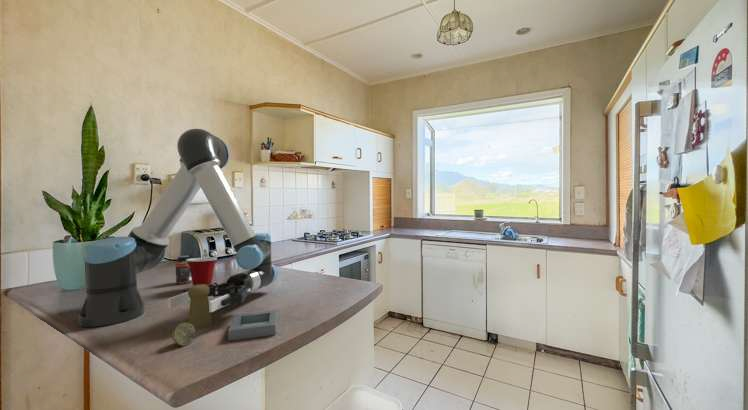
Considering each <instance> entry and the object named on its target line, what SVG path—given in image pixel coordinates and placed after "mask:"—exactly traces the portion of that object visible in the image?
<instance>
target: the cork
mask: <svg viewBox="0 0 748 410" xmlns="http://www.w3.org/2000/svg"><path fill="white" fill-rule="evenodd" d="M188 289H189V290H188V295H189V297H190V298H191V300H190V301H189V311H188V319H187V322H188V323H190V324H192V325H193V326H194V327H195V330H200V329H205V328H207V327H209V326H211V325H212V324H213V319H212V314H211V313H212V312H209V302H210V301H209V296H208V294H209V292H210V289H209V286H208V285H206V284H199V285H194V286H193V285H192V286H190V287H189V288H188Z"/></svg>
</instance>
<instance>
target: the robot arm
mask: <svg viewBox="0 0 748 410" xmlns="http://www.w3.org/2000/svg"><path fill="white" fill-rule="evenodd" d="M176 144H177V145H176V146H177V147H176V148H177V152H178V155H179V156H180V158H179V160H178V161H179V165H180V168H179V169H178V170H177V172H176V174H175V175H174V177H173V178H172V179H171V181H170V182H169V184H168V185H167V187H166V188H165V190H164V191H163V193H162V194H161V195H160V198H158V200H157V201H156V204H155V205H154V206H153V207H152V209H151V211H150V212H149V214H148V215H147V216H146V218H145V220H144V221H143V223H142V224H141V225H139V226H135V227H133V228H132V229H131V231H130V232H129V234H128V235H127V236H113V237H108V238H102V239H97V240H94V241H91V242H89V243H88V244H86V245H85V248H84V255H83V260H84V275H85V276H84V277H85V298H84V301H83V303H82V306H81V309H80V311H79V314H78V318H77V319H78V325H79V326H80V327H84V328H87V327H88V328H90V327H91V328H93V327H103V326H110V325H115V324H118V323H123V322H126V321H129V320H132V319H135V318H137V317H140V316H141V315H143V314H144V313H145V312H146V309H145V306H146V305H145V302H144V300H143V298H142V296H141V294H140V292H139V290H138V284H137V283H138V282H137V281H138V279H137V274H140V273H143V272H146V271H148V270H151V269H153V268H155V267H157V266H158V265H160V263H161V262H163V260H164V259H165V257H166V254H167V249H166V248H168V245H169V244H170V239H169V235H170V234H171V233H172V231H173V229H174V228H175V226H176V225H177V223H178V222H179V221H180V219H181V217H182V216H183V215H184V213H185V211H186V210H187V209H188V207H189V206H190V204H191V202H192V201H193V200H194V198H195V197H196V195H197V193H198V192H199V190H200V189H201V190H202V192H203V194H204V196H205V198H206V199H207V202H208V203H209V205H210V207H211V209H212V211H213V212H214V215H215V217H216V218H217V220H218V221H219V224H220V225H221V227H222V229H223V230H224V233H225V234H226V237H227V238H228V240H229V242H230V244H231V246H232V247H233V249H234V251H235V253H236V254H235V260H236V261H235V262H236V264H237V265H238V267H240V268H241V269H244V271H240V272H239V273H236V274H233V275H231V276H229V277H228V278H227V280H226V282H221V283H219V284H218V282H214V283H211V284H210V285H208V286H209V289H210V292H209V294H208V297H214V299H212V300H210V301H208V302H209V312H210V313H213V312H215V311H218V310H220V309H222V308H224V307H226V306H229V305H230V304H236V302H237V304H242V303H243V302H244V301H245V299H246V297H247V296H248V295H251V293H253V292H255V291H257V290H259V289H260V290H261V289H262V288H264V287H267V286H269V285H271V284H272V283H273V282H275V281H276V280H277V278H278V270H277V267H276V266H275V265H274V264H273V263H272V239H271V237H272V236H271V234H270V233H267V232H263V233H258V232H257V233H255V231H254V229H253V227H252V226H251V224H250V221H249V220H248V218H247V216H246V214H245V212H244V210H243V208H242V207H241V205H240V202H239V201H238V198H237V197H236V195H235V194H234V192H233V190H232V187H231V186H230V183H229V182H228V180H227V179H226V177H225V175H224V173H223V171H222V169H223V168H224V167H225V166H227V164H228V163H229V160H230V158H231V154H230V148H229V147H228V145H227V144H226V142H225V141H223V140H222V139H221V138H220V137H219V136H216V135H214V134H213V133H210V131H208V130H206V129H201V128H191V129H188V130H186V131H184V132H183V133H181V135H180V136H179V138H178V140H177V143H176ZM188 290H189V288H187V289H184V290H183V293H180V294H177V295H174V296H171V297H168V298H167V305H168V307H167V308H168V309H173V308H176V307H179V306H181V305H183V304H186V303H190V300H191V298H190V297H189V295H188Z"/></svg>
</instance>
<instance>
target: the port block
mask: <svg viewBox="0 0 748 410" xmlns="http://www.w3.org/2000/svg"><path fill="white" fill-rule="evenodd" d="M277 325H278V310H277V309H273V310H265V311H256V312H247V313H237V314H234V317H233V320H232V321H231V323H230V325H229V328H228V330H227V336H228V337H227V339H228V340H227V341H228V342H229V341H236V340H237V341H239V340H244V339H245V340H246V339H252V338H253V339H254V338H260V337H267V336H273V335H274V336H276V335H277Z"/></svg>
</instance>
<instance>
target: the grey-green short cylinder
mask: <svg viewBox="0 0 748 410" xmlns="http://www.w3.org/2000/svg"><path fill="white" fill-rule="evenodd" d="M196 330H197V329H195V327H194V326H193V325H192V324H190V323H188V321H187V322H186V321H185V322H180V323H179V324H178V325H176V326H175V327H174V328H173V330H172V333H171V338H172V340H173V342H174V344H177V345H178V346H182V347H183V346H187V345H189V344H190V343H191V342H193V340H194V338H196V334H197V331H196Z"/></svg>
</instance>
